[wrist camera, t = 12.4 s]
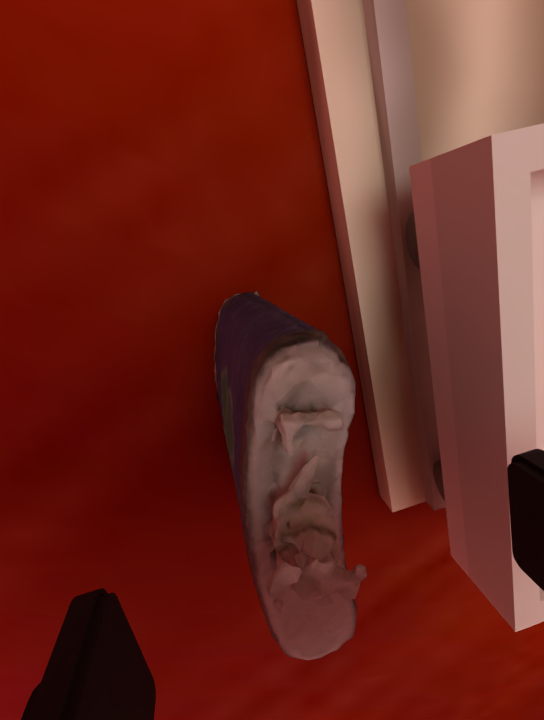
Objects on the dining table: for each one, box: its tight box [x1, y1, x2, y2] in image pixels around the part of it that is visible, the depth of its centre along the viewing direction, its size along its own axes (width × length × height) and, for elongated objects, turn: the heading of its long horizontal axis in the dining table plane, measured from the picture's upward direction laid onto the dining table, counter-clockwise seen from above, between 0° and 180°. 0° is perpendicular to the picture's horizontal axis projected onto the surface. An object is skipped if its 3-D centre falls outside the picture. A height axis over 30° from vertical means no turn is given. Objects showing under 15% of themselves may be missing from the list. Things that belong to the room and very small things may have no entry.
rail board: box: [296, 0, 544, 512], centre depth 17 cm, size 18×34×2 cm, turn 14°
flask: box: [214, 291, 367, 660], centre depth 14 cm, size 10×3×12 cm, turn 5°
